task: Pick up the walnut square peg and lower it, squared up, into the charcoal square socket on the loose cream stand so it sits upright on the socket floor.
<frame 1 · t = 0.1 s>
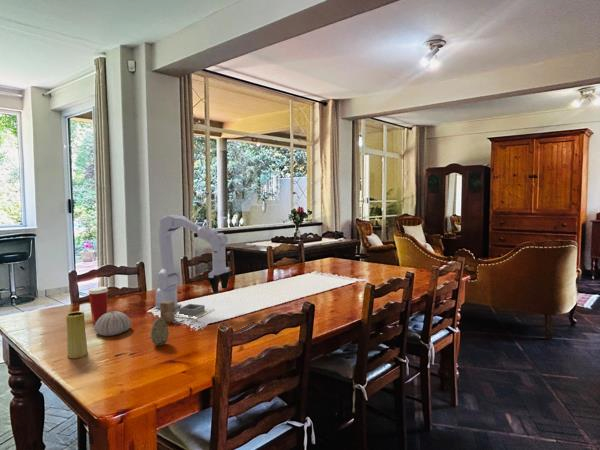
hand: (219, 290, 183), 10 cm above the table, tool pointing down, fingers open, 7 cm apart
decorative egg: (160, 345, 146), on the table
paper cup: (99, 321, 174), on the table
square peg: (167, 320, 174), on the table
vase: (77, 355, 138), on the table
sea urchin shell: (113, 332, 161), on the table
ring stand: (192, 314, 184), on the table
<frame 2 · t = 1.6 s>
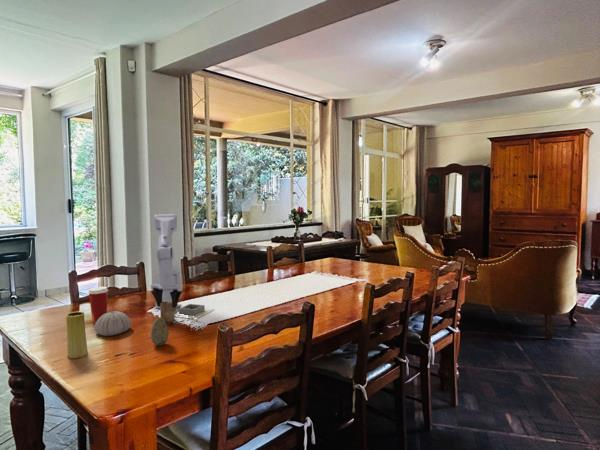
hand: (167, 306, 173), 6 cm above the table, tool pointing down, fingers open, 7 cm apart
nothing on the table moved.
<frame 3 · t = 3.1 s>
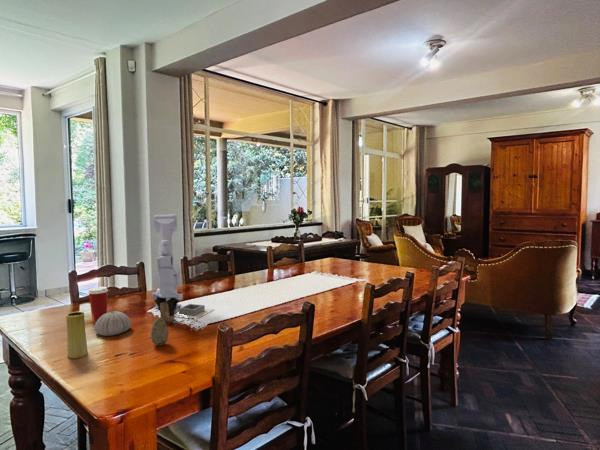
hand: (167, 314, 173), 2 cm above the table, tool pointing down, fingers closed on square peg, 4 cm apart
square peg: (167, 320, 174), on the table, touching gripper
everything else where it was.
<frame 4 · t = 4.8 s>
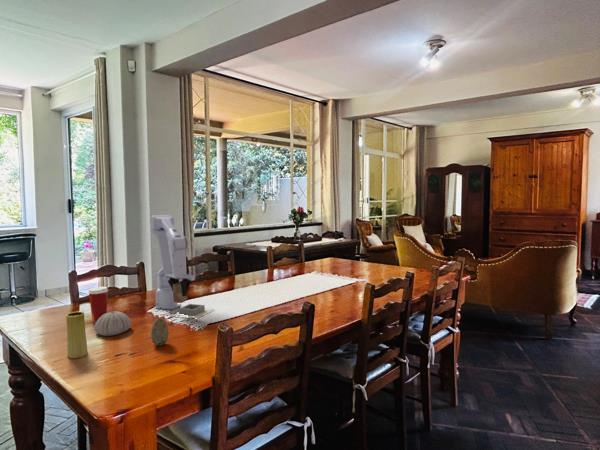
hand: (180, 295, 178), 9 cm above the table, tool pointing down, fingers closed on square peg, 4 cm apart
square peg: (180, 301, 178), point 7 cm above the table, touching gripper
everything else where it was.
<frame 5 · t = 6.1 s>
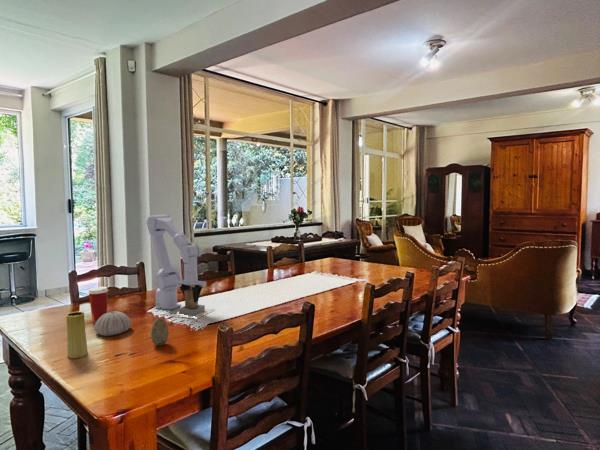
hand: (191, 301, 183), 5 cm above the table, tool pointing down, fingers closed on square peg, 4 cm apart
square peg: (191, 307, 183), point 3 cm above the table, touching gripper
everything else where it was.
when the fingers open (5 cm above the table, at t = 7.1 s): square peg drops 2 cm, resting on ring stand.
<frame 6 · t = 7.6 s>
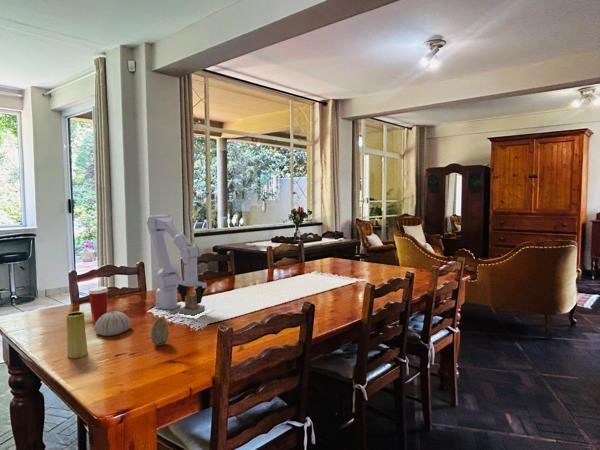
hand: (191, 302, 183), 5 cm above the table, tool pointing down, fingers open, 7 cm apart
square peg: (192, 312, 183), resting on ring stand
ring stand: (192, 314, 184), on the table, touching square peg
everything else where it was.
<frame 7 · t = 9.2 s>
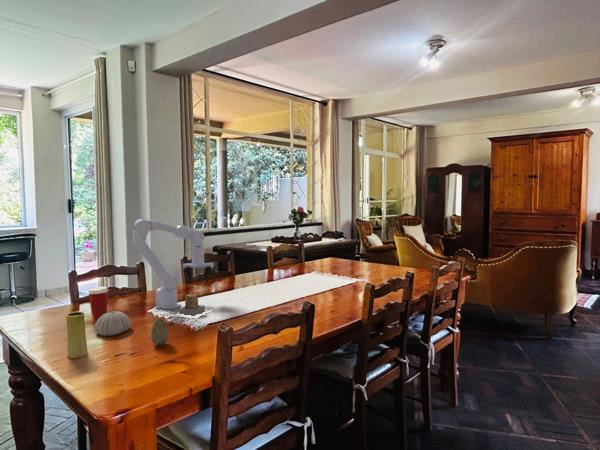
hand: (199, 282, 199), 10 cm above the table, tool pointing down, fingers open, 7 cm apart
square peg: (192, 312, 183), resting on ring stand
ring stand: (192, 314, 184), on the table
everything else where it was.
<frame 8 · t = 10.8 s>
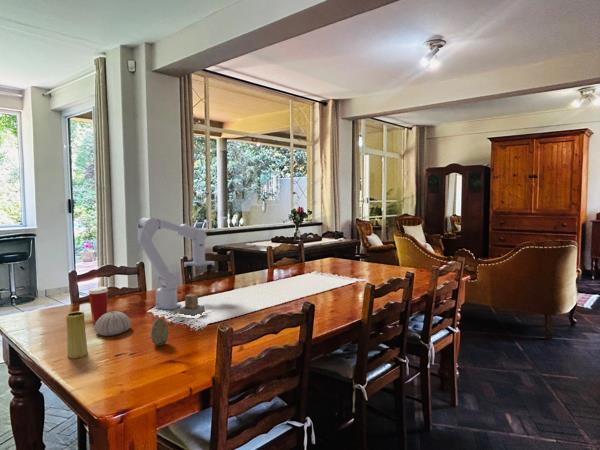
hand: (199, 280, 203), 10 cm above the table, tool pointing down, fingers open, 7 cm apart
square peg: (192, 312, 183), resting on ring stand
ring stand: (192, 314, 184), on the table, touching square peg
everything else where it was.
at the end: square peg 0.2 cm off-centre on the ring stand, point 1.0 cm above the ring stand's base; square peg tilted 1°; ring stand moved 0.8 cm from its start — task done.
